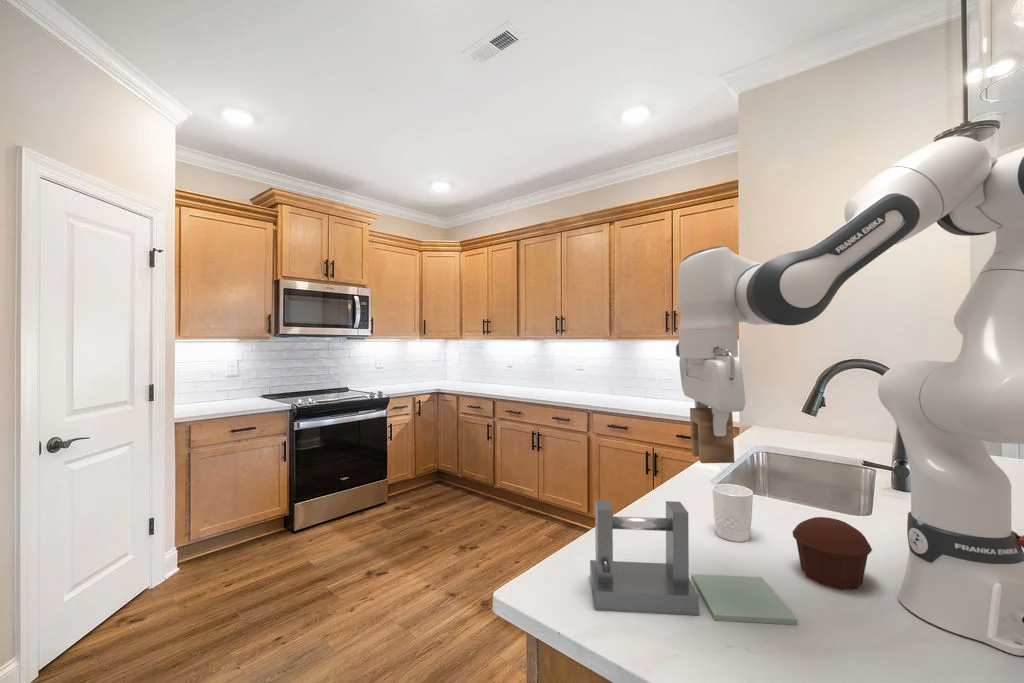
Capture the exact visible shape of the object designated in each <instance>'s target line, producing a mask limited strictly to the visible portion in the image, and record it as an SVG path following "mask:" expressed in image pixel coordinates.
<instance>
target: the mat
mask: <svg viewBox="0 0 1024 683" xmlns="http://www.w3.org/2000/svg"><path fill="white" fill-rule="evenodd" d="M690 575H691V579H690V580H691V581H692V583H693V584H694V585H695V587H696V588H695V589H697V591H698V593H699V595H700V597H701V599H702V601H703V602H704V603H705V606H706V607H707V609H708V611H709V614H710V615H711V616H712V619H713V620H714V621H719V622H720V621H725V622H741V623H743V622H744V623H756V624H758V623H759V624H773V625H774V624H777V625H796V626H798V625H799V624H798V620H799V619H798V618H797V617H796V616H795V615H794V613H793V612H792V611H791V609H789V607H788V606H787V605H786V604H785V602H784V601H783V600H782V599H781V598H780V597H779V596H778V595H777V593H776V592H775V591H774V590H773V589H772V587H771V586H770V585H769V584H768V583H767V582H766V580H765V579H764V578H763V577H762V576H745V575H744V576H743V575H742V576H741V575H722V574H721V575H720V574H719V575H718V574H700V573H699V574H697V573H691V574H690Z"/></svg>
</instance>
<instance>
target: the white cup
mask: <svg viewBox="0 0 1024 683" xmlns="http://www.w3.org/2000/svg"><path fill="white" fill-rule="evenodd" d="M753 492H754V491H753V490H751V489H750V488H748V487H746V486H742V485H738V484H732V483H719V484H715V485H713V486H712V499H713V500H712V503H713V514H714V515H713V517H714V526H715V531H714V532H715V534H716V535H717V536H718V537H719V538H721V539H722V540H727V541H731V542H735V543H736V542H737V543H745V542H747V541H749V540H750V539H751V530H752V529H751V527H752V520H753V519H752V517H753V498H754V493H753Z"/></svg>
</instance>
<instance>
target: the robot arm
mask: <svg viewBox="0 0 1024 683" xmlns="http://www.w3.org/2000/svg"><path fill="white" fill-rule="evenodd" d="M844 219H845V223H843V224H842V225H841V226H838V227H837V228H836V229H834V230H833V231H832V232H831V233H830V234H828V235H827V236H826V237H823V239H821V240H819V242H817V243H816V244H814V245H813V246H810V247H809V248H807V249H803V250H797V251H796V250H795V251H791V252H788V253H783V254H781V255H777V256H775V257H774V258H772V259H770V260H768V261H766V262H764V263H762V262H757V261H754V260H750V259H748V258H745V257H743V256H741V255H739V254H737V253H735V252H733V251H732V250H731V249H730V248H729V247H728V246H721V245H720V246H719V245H718V246H712V247H708V248H704V249H700V250H698V251H695V252H692V253H690V254H688V255H687V256H686V257H684V258H683V259H682V261H680V263H679V267H678V272H677V285H676V287H677V289H676V290H677V295H676V297H677V299H676V300H677V307H678V311H679V313H680V322H679V326H678V342H677V343H676V345H675V356H676V357H677V358H679V360H678V362H679V364H678V365H679V372H680V374H679V375H680V382H681V389H682V392H683V396H685V397H687V398H690V399H691V400H694V408H712V414H713V423H711V428H712V430H711V431H712V433H713V434H714V435H715V436H725V435H726V424H727V421H728V417H729V412H732V413H736V412H737V413H738V412H743V411H744V409H745V406H746V394H745V393H746V392H745V384H744V375H743V370H742V366H741V363H740V362H739V361H738V360H737V359H735V358H738V357H739V348H738V347H739V345H738V344H739V343H738V328H737V327H738V324H739V322H740V323H741V322H742V323H745V324H749V325H754V326H755V325H760V326H761V325H763V326H764V325H769V326H770V325H781V326H799V325H803V324H806V323H808V322H810V321H814V319H816V318H818V317H819V316H820V315H821V314H822V313H823V312H824V311H825V310H826V309H827V307H828V306H829V305H830V304H831V302H832V300H833V299H834V297H835V296H836V294H837V293H838V291H839V289H840V288H841V287H842V286H843V285H844V284H845V282H847V281H848V279H851V277H853V276H854V275H855V274H857V273H858V272H859V271H860V270H862V269H863V268H864V267H866V266H867V265H868V264H869V263H872V262H873V261H874V260H875V259H877V258H878V257H880V256H881V255H883V254H884V253H885V252H886V251H887V250H889V249H891V248H892V247H893V246H895V245H897V244H900V243H903V242H904V241H907V240H909V239H910V238H913V237H914V236H916V235H918V234H919V233H921V232H923V231H924V230H926V229H927V228H929V227H931V226H933V225H934V224H935V223H936V224H937V225H938V226H939V227H940V228H941V229H943V230H944V231H946V232H948V233H950V234H953V235H956V236H964V237H966V236H968V237H970V236H972V237H973V236H983V235H987V234H990V233H993V232H995V237H996V240H995V246H994V250H993V252H992V255H991V256H990V257H989V259H988V260H987V262H986V263H985V265H984V266H983V267H982V269H981V271H980V272H979V274H978V275H977V277H976V279H975V280H974V282H973V284H972V285H971V287H970V289H969V290H968V293H967V294H966V295H965V297H964V299H963V300H962V303H961V304H960V306H959V307H958V309H957V310H956V313H955V314H954V317H953V322H954V327H955V328H956V330H957V331H958V332H959V333H960V334H961V336H962V343H961V349H960V352H959V354H958V356H957V357H956V359H955V360H954V361H952V362H951V361H936V360H918V361H912V362H907V363H902V364H898V365H894V366H893V367H891V368H889V369H888V370H887V371H885V373H883V375H882V376H881V378H880V380H879V383H878V385H877V396H878V398H879V401H880V402H881V403H880V404H882V406H883V407H884V408H885V409H886V410H887V411H888V413H889V414H890V416H891V417H892V418H893V420H894V422H895V424H896V426H897V429H898V431H899V434H900V437H901V440H902V442H903V447H904V449H905V452H906V456H907V462H908V466H909V474H910V476H909V477H910V478H909V479H910V511H909V512H908V513H907V521H906V522H907V524H906V526H907V527H906V528H907V529H906V535H907V543H908V547H909V550H908V556H907V565H906V570H905V573H904V576H903V580H902V583H901V586H900V588H899V590H898V593H897V598H898V601H899V602H900V603H901V604H902V605H903V606H904V607H905V608H906V609H907V611H908V610H909V611H910V612H911V613H912V614H914V615H915V616H917V617H919V618H920V619H922V620H924V621H926V622H928V623H930V624H931V625H934V626H936V627H939V628H941V629H943V630H945V631H948V632H950V633H954V634H957V635H959V636H963V637H965V638H968V639H973V640H976V641H979V642H981V643H984V644H988V645H989V646H992V647H994V648H996V649H999V650H1000V651H1002V652H1003V651H1004V652H1006V653H1009V654H1012V655H1015V656H1022V657H1023V656H1024V550H1023V549H1024V535H1019V534H1018V533H1017V532H1016V531H1013V530H1012V483H1011V480H1010V478H1009V477H1008V475H1007V474H1006V472H1004V470H1003V469H1002V468H1001V467H1000V466H999V465H997V463H996V462H995V461H994V460H993V458H992V457H991V455H990V454H989V452H988V450H987V448H986V446H985V444H984V442H988V443H993V444H994V443H995V444H1009V445H1010V444H1012V445H1024V147H1021V148H1019V149H1016V150H1013V151H1011V152H1008V153H1006V154H1003V155H1001V156H998V157H993V156H991V153H990V151H989V149H987V147H986V146H985V145H984V144H982V143H981V142H980V141H978V140H976V139H974V138H971V137H967V136H961V135H960V136H959V135H957V136H955V135H954V136H949V137H948V136H947V137H943V138H941V139H939V140H935V141H934V142H932V143H929V144H927V145H925V146H922V147H920V148H918V149H917V150H914V151H913V152H911V153H909V154H907V155H905V156H904V157H902V158H900V159H898V160H897V161H895V162H894V163H892V164H891V165H889V166H888V167H886V168H884V169H883V170H882V171H880V172H879V173H877V174H876V175H875V176H873V177H872V178H871V179H870V180H868V181H866V182H865V183H863V185H862V186H861V187H860V188H859V189H858V190H856V191H855V193H854V194H852V195H851V197H850V198H849V199H847V201H846V204H845V207H844Z"/></svg>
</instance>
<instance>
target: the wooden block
mask: <svg viewBox="0 0 1024 683" xmlns="http://www.w3.org/2000/svg"><path fill="white" fill-rule="evenodd" d="M689 415H690V416H689V418H690V419H689V420H690V441H691V442H690V443H691V456H692V457H698V459H699V460H698V461H699V462H700V464H734V463H735V446H734V445H735V444H734V442H735V441H734V422H733V412H729V417H728V421H727V424H726V435H725V436H715V435H714V434H713V433H712V431H711V430H712V428H711V423H713V414H712V408H711V407H709V408H695V407H690V408H689Z"/></svg>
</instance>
